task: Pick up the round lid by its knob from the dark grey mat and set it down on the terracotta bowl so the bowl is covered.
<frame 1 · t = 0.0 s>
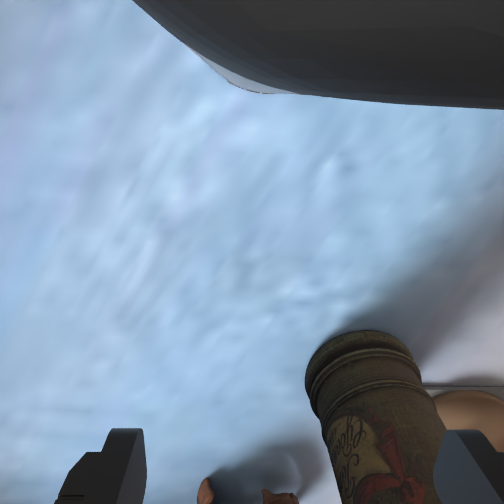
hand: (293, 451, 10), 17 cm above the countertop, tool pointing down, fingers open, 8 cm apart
mat: (449, 431, 34), on the countertop
lid: (452, 434, 34), resting on mat
container: (355, 370, 31), on the countertop
pottery mug: (243, 497, 38), on the countertop
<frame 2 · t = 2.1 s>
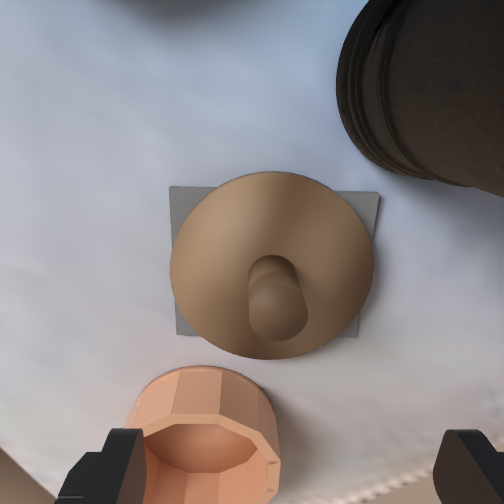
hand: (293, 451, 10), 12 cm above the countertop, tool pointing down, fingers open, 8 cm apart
bowl: (204, 422, 25), on the countertop
mat: (270, 266, 21), on the countertop
lid: (270, 269, 21), resting on mat
container: (423, 80, 18), on the countertop
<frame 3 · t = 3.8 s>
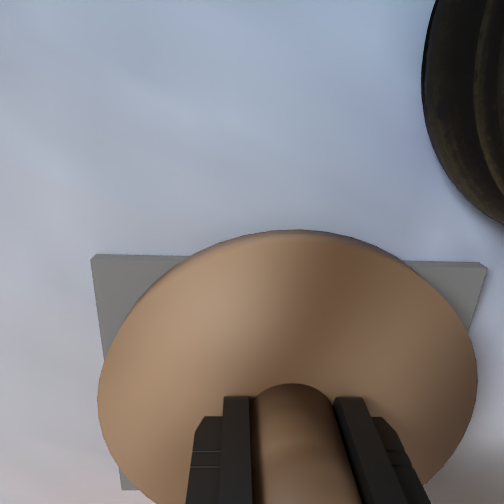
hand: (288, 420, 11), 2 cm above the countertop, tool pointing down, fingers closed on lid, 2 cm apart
mat: (281, 383, 12), on the countertop
lid: (285, 393, 12), resting on mat, touching gripper
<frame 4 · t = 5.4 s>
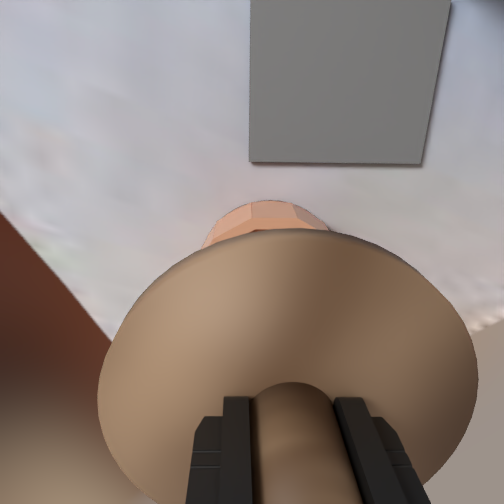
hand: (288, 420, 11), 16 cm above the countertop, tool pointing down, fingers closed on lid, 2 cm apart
bowl: (268, 266, 26), on the countertop
mat: (341, 85, 22), on the countertop
lid: (285, 392, 12), point 15 cm above the countertop, touching gripper
when the fingers open (7 cm above the countertop, at t = 7.4 s): lid drops 2 cm, resting on bowl.
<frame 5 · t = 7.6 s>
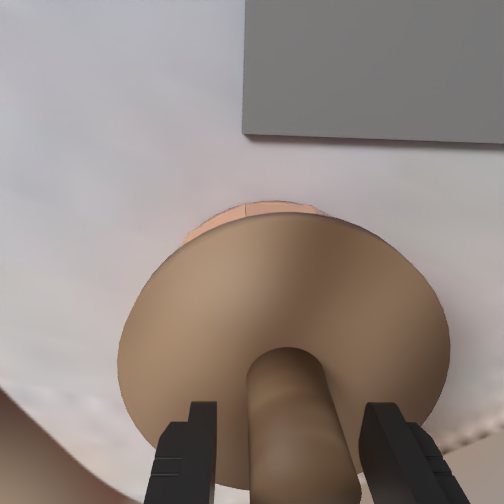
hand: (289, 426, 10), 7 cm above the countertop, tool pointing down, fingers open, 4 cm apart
bowl: (269, 304, 17), on the countertop
mat: (405, 2, 13), on the countertop
lid: (281, 360, 13), point 4 cm above the countertop, touching bowl
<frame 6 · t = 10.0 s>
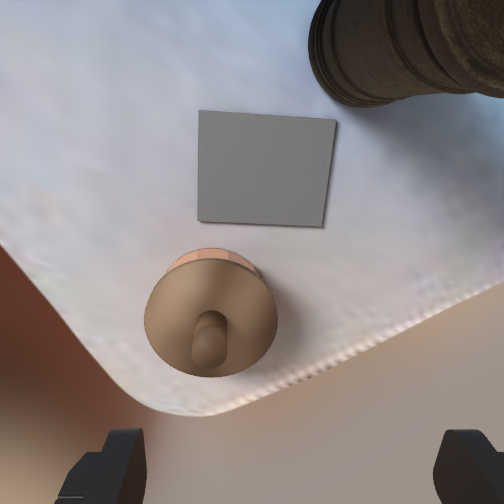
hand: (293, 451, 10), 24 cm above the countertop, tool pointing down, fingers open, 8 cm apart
bowl: (212, 295, 35), on the countertop
mat: (263, 171, 31), on the countertop
lid: (212, 317, 31), point 4 cm above the countertop, touching bowl
container: (363, 45, 28), on the countertop
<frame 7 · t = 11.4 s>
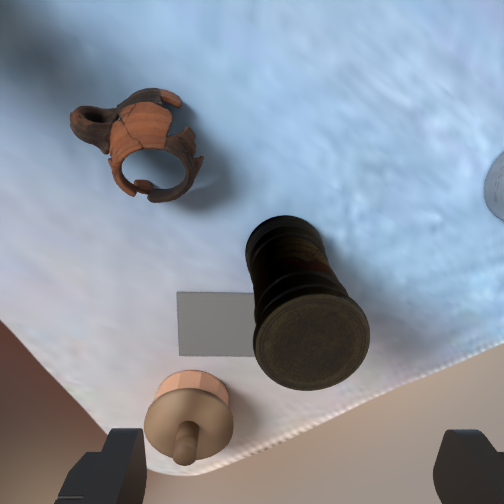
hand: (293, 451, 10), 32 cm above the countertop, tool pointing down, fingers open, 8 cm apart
bowl: (192, 398, 50), on the countertop
mat: (222, 324, 46), on the countertop
lid: (189, 422, 46), point 4 cm above the countertop, touching bowl
container: (283, 250, 42), on the countertop
pottery mug: (148, 138, 37), on the countertop
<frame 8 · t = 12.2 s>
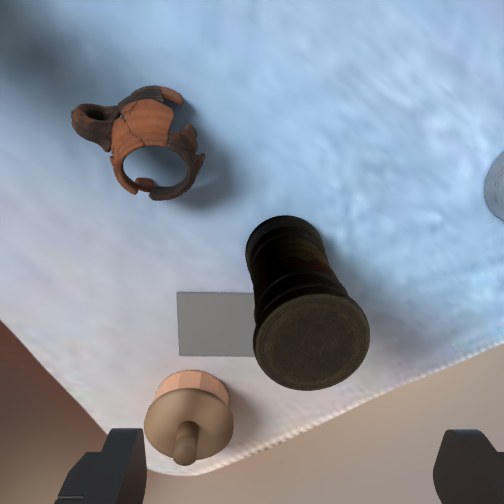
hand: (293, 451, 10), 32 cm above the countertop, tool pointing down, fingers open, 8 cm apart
bowl: (192, 399, 50), on the countertop
mat: (222, 324, 46), on the countertop
lid: (189, 422, 46), point 4 cm above the countertop, touching bowl
container: (283, 250, 42), on the countertop
pottery mug: (150, 135, 37), on the countertop
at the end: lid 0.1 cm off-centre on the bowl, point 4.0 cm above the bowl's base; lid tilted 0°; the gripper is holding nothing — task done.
